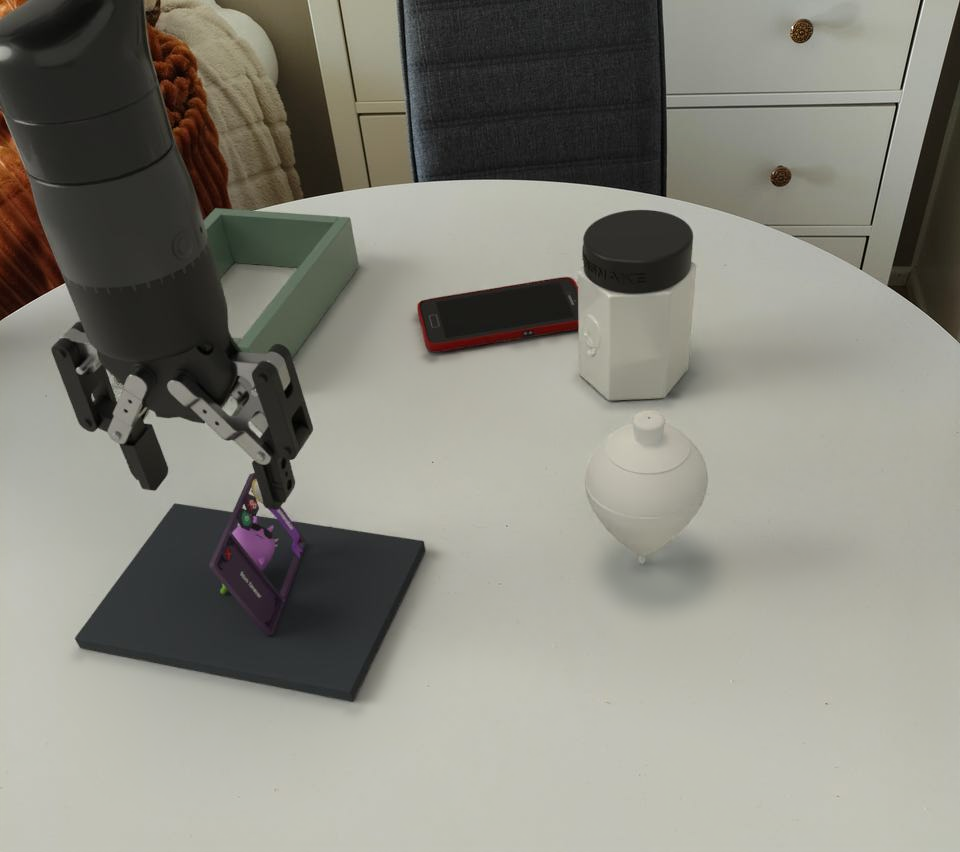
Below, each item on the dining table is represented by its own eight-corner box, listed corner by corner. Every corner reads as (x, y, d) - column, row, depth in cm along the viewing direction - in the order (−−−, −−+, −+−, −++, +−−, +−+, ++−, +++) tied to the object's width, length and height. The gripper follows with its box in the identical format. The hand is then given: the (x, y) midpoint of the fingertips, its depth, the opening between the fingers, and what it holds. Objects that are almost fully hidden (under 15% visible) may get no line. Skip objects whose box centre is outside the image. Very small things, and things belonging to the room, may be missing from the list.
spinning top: (722, 558, 70) (741, 412, 61) (649, 620, 67) (658, 475, 58) (634, 510, 74) (640, 366, 65) (562, 566, 71) (558, 423, 62)
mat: (79, 648, 69) (73, 638, 68) (178, 512, 78) (174, 502, 77) (353, 702, 64) (350, 692, 63) (426, 550, 73) (424, 540, 72)
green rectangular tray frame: (116, 381, 91) (95, 331, 87) (228, 256, 104) (215, 207, 101) (262, 399, 87) (248, 347, 83) (359, 266, 101) (350, 217, 97)
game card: (222, 562, 62) (264, 468, 68) (155, 579, 64) (201, 486, 70) (281, 634, 66) (315, 540, 72) (217, 648, 69) (255, 555, 74)
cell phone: (416, 310, 94) (415, 300, 93) (573, 284, 95) (573, 274, 94) (427, 355, 89) (426, 345, 88) (593, 328, 90) (593, 318, 89)
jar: (562, 363, 87) (559, 227, 78) (643, 333, 89) (649, 196, 80) (620, 416, 81) (624, 276, 72) (705, 382, 83) (719, 242, 74)
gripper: (290, 218, 52) (344, 469, 64) (52, 199, 56) (146, 440, 68) (224, 295, 48) (296, 549, 60) (-31, 268, 51) (86, 514, 63)
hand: (216, 491), depth 64 cm, fingers open, 8 cm apart
